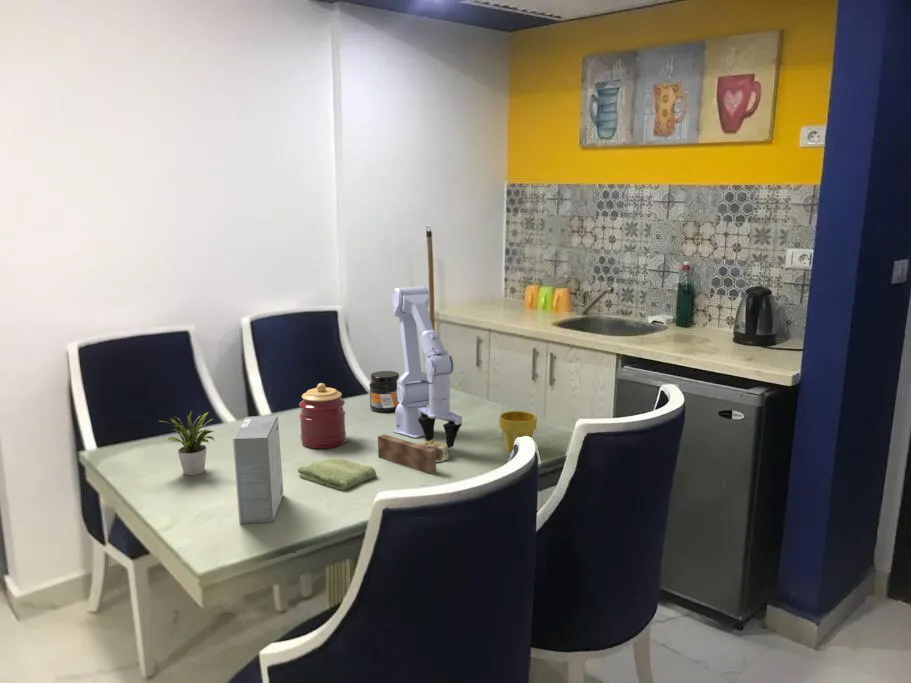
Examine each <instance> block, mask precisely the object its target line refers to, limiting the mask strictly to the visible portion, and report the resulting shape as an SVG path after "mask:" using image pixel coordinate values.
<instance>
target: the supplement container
mask: <svg viewBox="0 0 911 683" xmlns="http://www.w3.org/2000/svg"><path fill="white" fill-rule="evenodd" d="M399 378H400V373H399V372H397V371H393V370H379V371H375V372H372V373H370V382H369V384H368V387H369V407H370V410H371V411H373V412H375V413H393V412H395V411H396V407H397V405H398V404H399V401H398V399H397V380H398V379H399Z"/></svg>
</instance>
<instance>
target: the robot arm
mask: <svg viewBox="0 0 911 683" xmlns="http://www.w3.org/2000/svg"><path fill="white" fill-rule="evenodd" d="M391 295H392V296H391V302H392V309H393V311H392V312H393V315H394V316H395V317H397V318H398V320H399V321H398V323H399V329H400V330H399V331H400V336H401V337H400V338H401V348H402V356H403V365H404V373H403V374H402V375H400V376H399V379H398V380H397V399H398V401H399V404H398V405H397V407H396V411H394V412H395V413H394V414H395V416H394V417H395V429H394V430H393V433H396V434H400V435H404V436H407V437H411V438H414V439H418V438H420V437H423V436H424V438H425V442H426V441H430V440H432V439H433V440H434V437H435V436H434V434H435V432H434V430H435V429H434V428H435V422H436V420H442V421H445V422H446V423H444V424H443V425H442V426H443V428H444V429H443V430H444V433H445V442H446V443H445V444H447V446H448V449H450V448H453V447H454V446H455V441H456V438H457V435H458V432H459V431H460V428H461V427H462V425H463V424H462V423H463V416H461V415H458V414H456V413H454V412H452V411H451V408H450V407H451V406H450V405H451V401H450V400H451V398H450V396H451V393H450V392H451V391H450V390H451V386H450V384H451V381H450V380H451V377H450V375H451V374H452V373H453V372H454V366H455V364H454V360H453V356H452V354H451V353H449V352H448V350H447V349H445V348H444V344H443V342H442V339H441V337H440V334H439V332H437V331H436V330H434V327H433V323H432V320H431V316H430V312H429V307H430V303H431V302H430V300H431V295H430V290H429V289H428V288H427V286H426V285H422V286H407V287H395V288H394V290H393V292H392V294H391ZM418 330H419V332H420V334H421V335H420V337H418V336H419V335H418ZM419 343H420V344H419ZM419 345H420V346H421V348H422V351H423V355H424V357H425V363H424V367H425V372H426V373H425V372H423V371H422V363H421V355H420V346H419ZM411 382H412V383H411Z"/></svg>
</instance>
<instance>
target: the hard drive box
mask: <svg viewBox="0 0 911 683" xmlns="http://www.w3.org/2000/svg"><path fill="white" fill-rule="evenodd" d="M280 442H281V441H280V427H279V417H278V415H265V416H263V415H262V416H259V415H258V416H246V417H245V418H244V420H243V421H242V424H241V425H240V426H239V429H238V430H237V432H236V433H235V435H234V436H233V438H232V443H233V444H232V445H233V446H232V447H233V457H234V469H235V470H234V471H235V482H236V483H235V484H236V495H237V497H236V498H237V509H238V521H239V522H238V523H239V524H242V525H243V524H262V523H265V524H266V523H273V521H274V519H275V517H276V515H277V511H278V509H279V507H280V504H281V502H282V498H283V496H284V482H283V480H284V479H283V469H282V456H281V454H282V452H281V443H280Z"/></svg>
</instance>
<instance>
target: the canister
mask: <svg viewBox="0 0 911 683" xmlns="http://www.w3.org/2000/svg"><path fill="white" fill-rule="evenodd" d="M342 396H343V394H342V392H340V391H339V390H337V389H336V388H332V387H328V386H326V384H325V383H322V382H320V383H318V384H317V385H316V387H314V388H311V389H308V390H307V391H306V392H304V393H302V395H301V398H302V400H301V401H299V404H298V406H299V408H301V409H300V411H301V412H300V414H299V418H300V432H301V433H300V441H301V444H302V445H303V446H304V447H306V448H310V449H316V450H317V449H321V450H322V449H330V448H336V447H339V446H341V445H343V444H344V443H345V442H346V438H347V432H346V419H345V418H346V417H345V415H346V411H345V410H344V405H345V403H346V401H345V400H344V399H343V398H341V397H342Z"/></svg>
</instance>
